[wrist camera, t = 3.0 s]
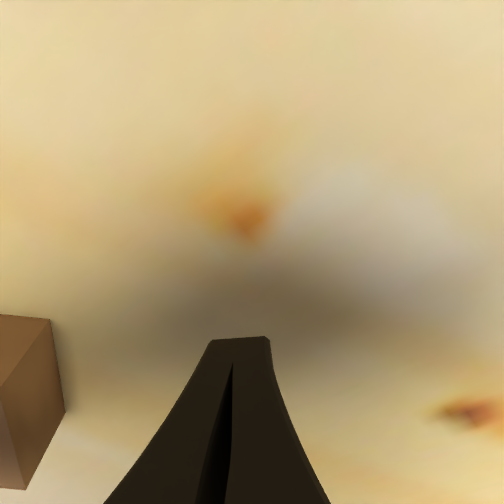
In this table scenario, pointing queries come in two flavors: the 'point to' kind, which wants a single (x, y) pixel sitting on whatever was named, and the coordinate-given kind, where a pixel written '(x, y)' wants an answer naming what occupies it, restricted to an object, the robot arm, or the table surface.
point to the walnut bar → (27, 397)
